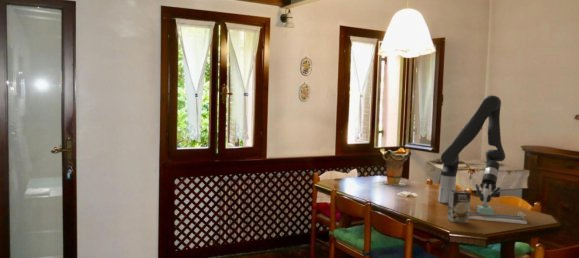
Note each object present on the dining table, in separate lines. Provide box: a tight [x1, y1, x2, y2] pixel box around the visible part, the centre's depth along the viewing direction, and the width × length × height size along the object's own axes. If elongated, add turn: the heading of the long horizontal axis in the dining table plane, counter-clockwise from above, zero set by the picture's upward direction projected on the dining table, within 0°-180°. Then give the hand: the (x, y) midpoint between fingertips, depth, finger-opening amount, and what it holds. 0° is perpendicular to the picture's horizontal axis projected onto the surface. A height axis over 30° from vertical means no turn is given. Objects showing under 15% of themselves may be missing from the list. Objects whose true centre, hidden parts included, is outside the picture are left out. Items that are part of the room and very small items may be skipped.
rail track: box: [468, 208, 528, 225], centre depth 248 cm, size 30×12×4 cm, turn 80°
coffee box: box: [446, 189, 472, 224], centre depth 239 cm, size 9×6×16 cm
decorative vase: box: [379, 147, 411, 187], centre depth 339 cm, size 21×23×28 cm
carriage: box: [476, 189, 495, 215], centre depth 249 cm, size 7×7×14 cm
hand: (484, 201), depth 248 cm, fingers closed on carriage, 2 cm apart
